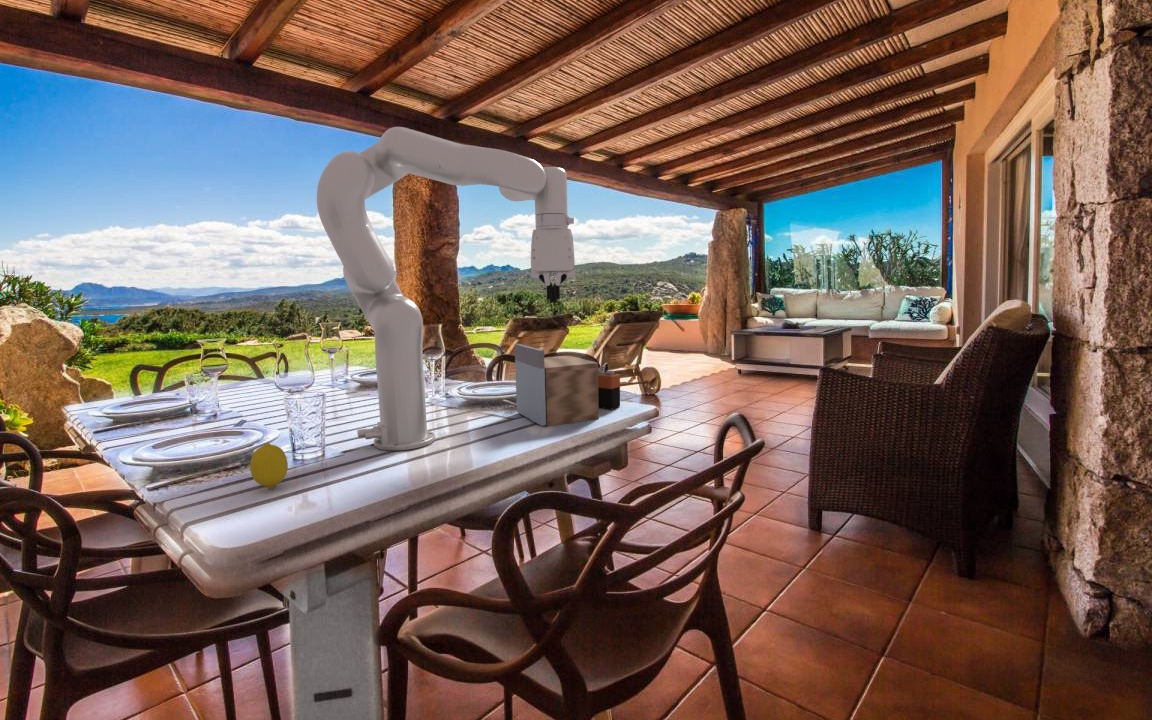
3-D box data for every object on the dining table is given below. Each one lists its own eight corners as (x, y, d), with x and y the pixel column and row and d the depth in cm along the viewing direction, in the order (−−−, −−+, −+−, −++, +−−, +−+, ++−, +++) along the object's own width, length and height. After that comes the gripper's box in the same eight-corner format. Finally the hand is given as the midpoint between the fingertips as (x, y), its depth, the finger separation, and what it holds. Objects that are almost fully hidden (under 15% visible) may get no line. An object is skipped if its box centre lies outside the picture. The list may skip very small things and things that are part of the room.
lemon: (250, 497, 90) (245, 450, 89) (255, 485, 95) (250, 441, 94) (288, 491, 92) (284, 445, 91) (290, 480, 97) (286, 436, 96)
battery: (611, 410, 145) (611, 372, 143) (591, 406, 149) (590, 370, 148) (620, 407, 148) (620, 370, 147) (600, 403, 152) (600, 368, 151)
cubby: (547, 426, 130) (545, 368, 128) (521, 412, 144) (520, 359, 142) (598, 418, 136) (597, 362, 134) (569, 406, 150) (568, 355, 148)
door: (541, 425, 129) (539, 350, 127) (516, 411, 143) (514, 344, 140) (546, 424, 130) (544, 350, 127) (521, 411, 144) (518, 343, 141)
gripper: (584, 224, 131) (585, 301, 134) (522, 225, 132) (524, 302, 135) (583, 221, 124) (584, 302, 127) (517, 222, 125) (520, 304, 127)
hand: (553, 302), depth 131 cm, fingers closed
